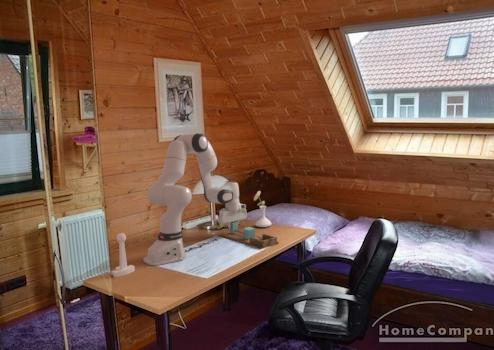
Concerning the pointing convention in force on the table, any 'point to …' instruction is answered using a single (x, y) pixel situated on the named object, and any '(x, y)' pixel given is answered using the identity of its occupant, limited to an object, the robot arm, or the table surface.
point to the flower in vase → (262, 214)
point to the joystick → (122, 259)
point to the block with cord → (247, 231)
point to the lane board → (253, 240)
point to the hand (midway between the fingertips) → (233, 228)
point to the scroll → (223, 224)
